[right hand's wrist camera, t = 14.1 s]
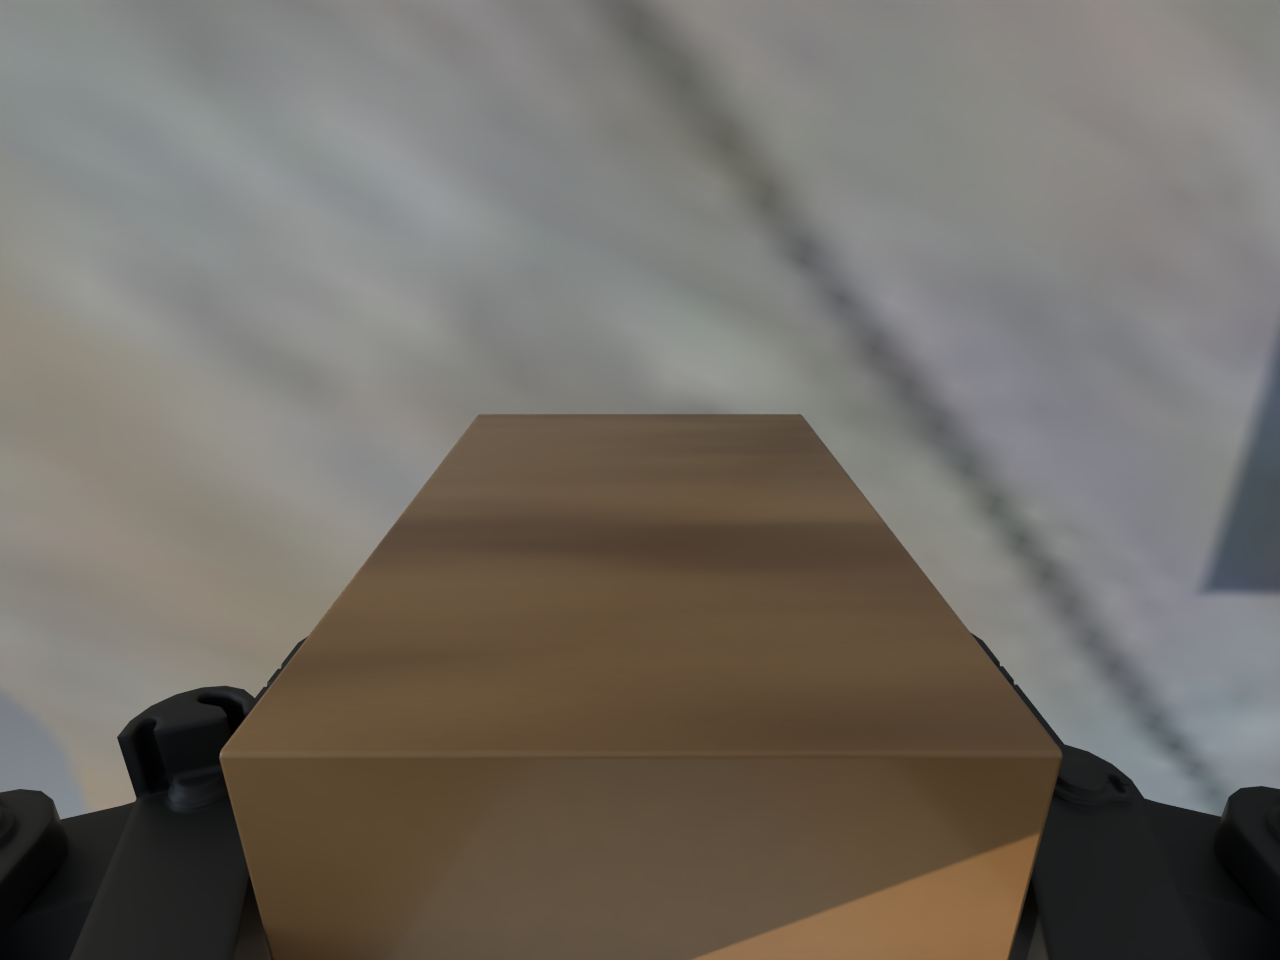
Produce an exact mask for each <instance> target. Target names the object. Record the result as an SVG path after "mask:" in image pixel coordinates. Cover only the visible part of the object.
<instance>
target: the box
mask: <svg viewBox="0 0 1280 960" xmlns="http://www.w3.org/2000/svg"><path fill="white" fill-rule="evenodd" d="M1062 758H1063V757H1062V752H1061V749H1060V748H1059V747H1058V745H1057V744H1056V743H1055V742H1054V740H1053V739H1052V738H1051V736H1050V735H1049V734H1048V733H1047V731H1046V730H1045V729H1044V727H1043V726H1042V725H1041V723H1040V722H1039V721H1038V720H1037V718H1036V717H1035V716H1034V714H1033V713H1032V712H1031V711H1030V709H1029V708H1028V707H1027V705H1026V704H1025V703H1024V702H1023V700H1022V699H1021V698H1020V696H1019V695H1018V694H1017V692H1016V691H1015V690H1014V689H1013V687H1012V686H1011V685H1010V683H1009V682H1008V681H1007V680H1006V678H1005V677H1004V676H1003V674H1002V673H1001V672H1000V671H999V669H998V668H997V667H996V665H995V664H994V663H993V661H992V660H991V659H990V658H989V656H988V655H987V654H986V652H985V651H984V650H983V649H982V647H981V646H980V645H979V643H978V642H977V641H976V640H975V638H974V637H973V636H972V634H971V633H970V632H969V630H968V629H967V628H966V627H965V625H964V624H963V623H962V621H961V620H960V619H959V618H958V616H957V615H956V614H955V612H954V611H953V610H952V609H951V607H950V606H949V605H948V603H947V602H946V601H945V600H944V598H943V597H942V596H941V594H940V593H939V592H938V590H937V589H936V588H935V587H934V585H933V584H932V583H931V581H930V580H929V579H928V578H927V576H926V575H925V574H924V572H923V571H922V570H921V569H920V567H919V566H918V565H917V563H916V562H915V561H914V559H913V558H912V557H911V556H910V554H909V553H908V552H907V550H906V549H905V548H904V547H903V545H902V544H901V543H900V541H899V540H898V539H897V538H896V536H895V535H894V534H893V532H892V531H891V530H890V528H889V527H888V526H887V525H886V523H885V522H884V521H883V519H882V518H881V517H880V516H879V514H878V513H877V512H876V510H875V509H874V508H873V507H872V505H871V504H870V503H869V501H868V500H867V499H866V497H865V496H864V495H863V494H862V492H861V491H860V490H859V488H858V487H857V486H856V485H855V483H854V482H853V481H852V479H851V478H850V477H849V476H848V474H847V473H846V472H845V470H844V469H843V468H842V466H841V465H840V464H839V463H838V461H837V460H836V459H835V457H834V456H833V455H832V454H831V452H830V451H829V450H828V448H827V447H826V446H825V445H824V443H823V442H822V441H821V439H820V438H819V437H818V436H817V434H816V433H815V432H814V430H813V429H812V428H811V426H810V425H809V424H808V423H807V421H806V420H805V419H804V417H803V416H802V415H800V414H580V415H579V414H575V415H574V414H567V415H566V414H562V415H561V414H559V415H558V414H557V415H556V414H554V415H553V414H552V415H550V414H549V415H548V414H546V415H545V414H544V415H542V414H541V415H540V414H539V415H537V414H536V415H532V414H531V415H478V416H477V417H476V418H475V420H474V421H473V422H472V424H471V425H470V426H469V428H468V429H467V430H466V432H465V433H464V434H463V435H462V437H461V438H460V439H459V441H458V442H457V443H456V445H455V446H454V447H453V448H452V450H451V451H450V452H449V454H448V455H447V456H446V458H445V459H444V460H443V462H442V463H441V464H440V465H439V467H438V468H437V469H436V471H435V472H434V473H433V475H432V476H431V477H430V478H429V480H428V481H427V482H426V484H425V485H424V486H423V488H422V489H421V490H420V491H419V493H418V494H417V495H416V497H415V498H414V499H413V501H412V502H411V503H410V505H409V506H408V507H407V508H406V510H405V511H404V512H403V514H402V515H401V516H400V518H399V519H398V520H397V521H396V523H395V524H394V525H393V527H392V528H391V529H390V531H389V532H388V533H387V535H386V536H385V537H384V538H383V540H382V541H381V542H380V544H379V545H378V546H377V548H376V549H375V550H374V551H373V553H372V554H371V555H370V557H369V558H368V559H367V561H366V562H365V563H364V564H363V566H362V567H361V568H360V570H359V571H358V572H357V574H356V575H355V576H354V578H353V579H352V580H351V581H350V583H349V584H348V585H347V587H346V588H345V589H344V591H343V592H342V593H341V594H340V596H339V597H338V598H337V600H336V601H335V602H334V604H333V605H332V606H331V608H330V609H329V610H328V611H327V613H326V614H325V615H324V617H323V618H322V619H321V621H320V622H319V623H318V624H317V626H316V627H315V628H314V630H313V631H312V632H311V634H310V635H309V636H308V638H307V639H306V640H305V641H304V643H303V644H302V645H301V647H300V648H299V649H298V651H297V652H296V653H295V654H294V656H293V657H292V658H291V660H290V661H289V662H288V664H287V665H286V666H285V667H284V669H283V670H282V671H281V673H280V674H279V675H278V677H277V678H276V679H275V681H274V682H273V683H272V684H271V686H270V687H269V688H268V690H267V691H266V692H265V694H264V695H263V696H262V697H261V699H260V700H259V701H258V703H257V704H256V705H255V707H254V708H253V709H252V711H251V712H250V713H249V714H248V716H247V717H246V718H245V720H244V721H243V722H242V724H241V725H240V726H239V727H238V729H237V730H236V731H235V733H234V734H233V735H232V737H231V738H230V739H229V741H228V742H227V743H226V744H225V746H224V747H223V748H222V750H221V752H220V757H219V759H220V762H221V766H222V770H223V774H224V778H225V782H226V785H227V789H228V793H229V797H230V801H231V805H232V808H233V812H234V816H235V820H236V824H237V828H238V831H239V835H240V839H241V843H242V847H243V851H244V855H245V858H246V862H247V866H248V870H249V874H250V878H251V881H252V885H253V889H254V893H255V897H256V901H257V904H258V908H259V912H260V916H261V920H262V924H263V927H264V931H265V935H266V939H267V943H268V947H269V950H270V954H271V958H272V960H1010V956H1011V952H1012V948H1013V944H1014V941H1015V937H1016V933H1017V929H1018V925H1019V922H1020V918H1021V914H1022V910H1023V906H1024V903H1025V899H1026V895H1027V891H1028V887H1029V884H1030V880H1031V876H1032V872H1033V868H1034V864H1035V861H1036V857H1037V853H1038V849H1039V845H1040V842H1041V838H1042V834H1043V830H1044V826H1045V823H1046V819H1047V815H1048V811H1049V807H1050V803H1051V800H1052V796H1053V792H1054V788H1055V784H1056V781H1057V777H1058V773H1059V769H1060V765H1061V762H1062Z"/></svg>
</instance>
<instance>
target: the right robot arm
mask: <svg viewBox="0 0 1280 960" xmlns="http://www.w3.org/2000/svg"><path fill="white" fill-rule="evenodd" d="M971 634H972V633H971ZM972 636H973V637H974V638H975V640H976V641H977V642H978V643H979V645H980V646H981V647H982V649H983V650H984V651H985V652H986V654H987V655H988V656H989V658H990V659H991V660H992V661H993V663H994V664H995V665H996V667H997V668H998V669H999V671H1000V672H1001V673H1002V674H1003V676H1004V677H1005V678H1006V680H1007V681H1008V682H1009V683H1010V685H1011V686H1012V687H1013V689H1014V690H1015V691H1016V692H1017V694H1018V695H1019V696H1020V698H1021V699H1022V700H1023V702H1024V703H1025V704H1026V705H1027V707H1028V708H1029V709H1030V711H1031V712H1032V713H1033V714H1034V716H1035V717H1036V718H1037V720H1038V721H1039V722H1040V723H1041V725H1042V726H1043V727H1044V729H1045V730H1046V731H1047V733H1048V734H1049V735H1050V736H1051V738H1052V739H1053V740H1054V742H1055V743H1056V744H1057V745H1058V747H1059V748H1060V749H1061V752H1062V757H1063V758H1062V762H1061V765H1060V769H1059V773H1058V777H1057V781H1056V784H1055V788H1054V792H1053V796H1052V800H1051V803H1050V807H1049V811H1048V815H1047V819H1046V823H1045V826H1044V830H1043V834H1042V838H1041V842H1040V845H1039V849H1038V853H1037V857H1036V861H1035V864H1034V868H1033V872H1032V876H1031V880H1030V884H1029V887H1028V891H1027V895H1026V899H1025V903H1024V906H1023V910H1022V914H1021V918H1020V922H1019V925H1018V929H1017V933H1016V937H1015V941H1014V944H1013V948H1012V952H1011V956H1010V960H1280V789H1275V788H1269V787H1264V786H1258V787H1248V788H1240V789H1239V790H1238V791H1236V792H1235V793H1234V794H1232V795H1231V796H1229V798H1228V801H1227V803H1226V806H1225V809H1224V811H1223V814H1222V817H1219V816H1215V815H1211V814H1206V813H1202V812H1197V811H1193V810H1189V809H1184V808H1180V807H1175V806H1171V805H1166V804H1162V803H1158V802H1155V801H1151V800H1148V799H1144V797H1143V796H1142V795H1141V793H1140V792H1139V790H1138V789H1137V787H1136V786H1135V784H1134V783H1133V781H1132V780H1131V779H1130V778H1128V777H1127V776H1126V775H1125V774H1123V773H1122V772H1121V771H1120V770H1119V769H1117V768H1116V767H1115V766H1114V765H1112V764H1111V763H1109V762H1107V761H1105V760H1103V759H1101V758H1099V757H1097V756H1095V755H1094V754H1092V753H1090V752H1088V751H1084V750H1081V749H1078V748H1074V747H1071V746H1068V745H1065V744H1063V742H1062V741H1061V740H1060V738H1059V737H1058V736H1057V735H1056V733H1055V732H1054V731H1053V730H1052V728H1051V727H1050V726H1049V724H1048V723H1047V722H1046V721H1045V719H1044V718H1043V717H1042V716H1041V714H1040V713H1039V712H1038V710H1037V709H1036V708H1035V707H1034V705H1033V704H1032V703H1031V702H1030V700H1029V699H1028V698H1027V696H1026V695H1025V694H1024V693H1023V691H1022V690H1021V689H1020V688H1019V686H1018V685H1014V680H1013V679H1012V677H1011V676H1010V675H1009V674H1008V672H1007V671H1006V670H1005V668H1004V667H1003V666H1000V662H999V661H998V660H997V658H996V657H995V656H994V654H993V653H992V652H991V651H990V649H989V648H988V647H987V646H986V644H985V643H984V642H983V641H982V640H981V639H979V638H978V637H976V636H975V635H973V634H972ZM307 638H308V637H306V638H305V639H303V640H302V641H300V642H299V643H298V644H297V645H296V646H295V648H294V649H293V650H292V652H291V653H290V654H289V655H288V657H287V658H286V659H285V661H284V662H283V663H282V664H281V669H278V670H277V671H276V672H275V673H274V675H273V676H272V677H271V678H270V680H269V681H268V682H267V687H263V689H262V690H261V691H260V693H259V694H258V695H257V696H256V698H254V697H253V696H251V695H250V694H249V693H248V692H246V691H245V690H244V689H239V688H234V687H229V686H217V687H203V688H199V689H195V690H191V691H188V692H184V693H180V694H176V695H174V696H172V697H170V698H168V699H165V700H163V701H161V702H159V703H157V704H155V705H152V706H151V707H149V708H148V709H146V710H145V711H144V712H142V713H141V714H139V715H138V716H137V717H135V718H134V719H132V720H131V721H130V722H129V723H128V724H127V726H126V727H125V728H124V729H123V731H122V732H121V733H120V734H119V736H118V737H117V738H118V741H119V745H120V748H121V751H122V754H123V757H124V760H125V763H126V766H127V770H128V773H129V776H130V779H131V782H132V785H133V788H134V791H135V795H136V798H137V799H136V801H135V802H133V803H130V804H126V805H123V806H119V807H114V808H110V809H105V810H101V811H97V812H92V813H88V814H83V815H79V816H75V817H70V818H66V819H62V820H60V818H59V815H58V813H57V810H56V807H55V804H54V802H53V800H52V799H51V798H50V797H48V796H47V795H46V794H44V793H43V792H41V791H34V790H24V789H18V790H13V791H7V792H1V793H0V960H272V958H271V954H270V950H269V947H268V943H267V939H266V935H265V931H264V927H263V924H262V920H261V916H260V912H259V908H258V904H257V901H256V897H255V893H254V889H253V885H252V881H251V878H250V874H249V870H248V866H247V862H246V858H245V855H244V851H243V847H242V843H241V839H240V835H239V831H238V828H237V824H236V820H235V816H234V812H233V808H232V805H231V801H230V797H229V793H228V789H227V785H226V782H225V778H224V774H223V770H222V766H221V762H220V759H219V757H220V752H221V750H222V748H223V747H224V746H225V744H226V743H227V742H228V741H229V739H230V738H231V737H232V735H233V734H234V733H235V731H236V730H237V729H238V727H239V726H240V725H241V724H242V722H243V721H244V720H245V718H246V717H247V716H248V714H249V713H250V712H251V711H252V709H253V708H254V707H255V705H256V704H257V703H258V701H259V700H260V699H261V697H262V696H263V695H264V694H265V692H266V691H267V690H268V688H269V687H270V686H271V684H272V683H273V682H274V681H275V679H276V678H277V677H278V675H279V674H280V673H281V671H282V670H283V669H284V667H285V666H286V665H287V664H288V662H289V661H290V660H291V658H292V657H293V656H294V654H295V653H296V652H297V651H298V649H299V648H300V647H301V645H302V644H303V643H304V641H305V640H306V639H307Z"/></svg>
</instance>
